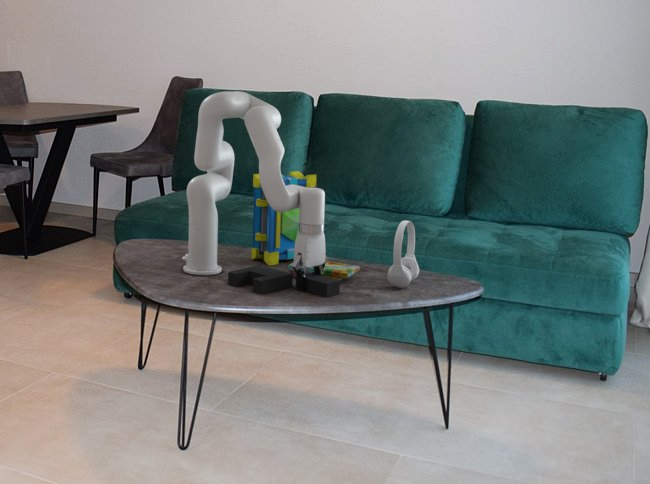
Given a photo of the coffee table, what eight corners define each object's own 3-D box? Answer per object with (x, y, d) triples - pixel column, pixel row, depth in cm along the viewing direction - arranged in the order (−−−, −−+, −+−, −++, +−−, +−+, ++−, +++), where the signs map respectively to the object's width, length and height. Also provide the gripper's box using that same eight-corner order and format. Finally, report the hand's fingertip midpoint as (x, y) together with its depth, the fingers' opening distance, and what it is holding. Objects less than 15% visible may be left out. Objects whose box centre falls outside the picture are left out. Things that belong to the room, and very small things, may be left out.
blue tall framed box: (320, 260, 286) (322, 175, 283) (267, 267, 274) (270, 178, 271) (294, 251, 298) (296, 170, 295) (242, 258, 286) (244, 173, 283)
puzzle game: (301, 255, 271) (359, 263, 262) (300, 269, 272) (359, 278, 262) (287, 262, 261) (348, 271, 252) (287, 277, 262) (347, 286, 252)
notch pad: (227, 284, 252) (228, 271, 251) (259, 277, 261) (259, 264, 261) (261, 294, 241) (261, 280, 241) (292, 286, 251) (293, 273, 250)
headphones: (383, 289, 249) (386, 224, 247) (398, 276, 265) (401, 215, 263) (407, 293, 245) (409, 227, 244) (421, 279, 261) (423, 217, 260)
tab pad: (295, 288, 248) (295, 275, 248) (308, 285, 252) (308, 272, 252) (326, 297, 239) (327, 283, 239) (339, 293, 243) (339, 280, 243)
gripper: (319, 223, 255) (318, 280, 257) (282, 230, 244) (281, 289, 245) (339, 227, 250) (337, 285, 251) (302, 234, 238) (300, 295, 240)
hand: (309, 286), depth 248 cm, fingers closed on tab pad, 6 cm apart
